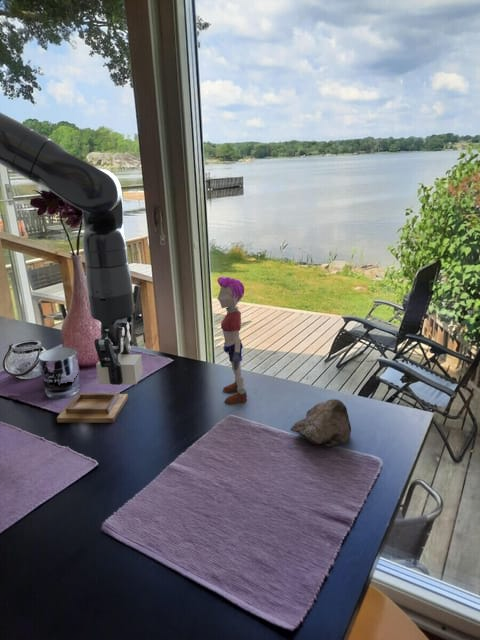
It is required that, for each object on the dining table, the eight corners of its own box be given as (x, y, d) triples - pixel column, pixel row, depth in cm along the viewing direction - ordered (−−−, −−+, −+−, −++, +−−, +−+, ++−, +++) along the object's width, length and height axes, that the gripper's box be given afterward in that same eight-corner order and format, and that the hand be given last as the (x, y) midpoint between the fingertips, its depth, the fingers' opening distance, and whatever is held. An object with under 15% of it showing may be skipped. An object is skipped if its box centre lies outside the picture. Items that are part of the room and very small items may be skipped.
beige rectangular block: (98, 383, 81) (95, 364, 79) (107, 372, 85) (105, 353, 84) (136, 384, 80) (133, 364, 79) (143, 373, 84) (141, 354, 83)
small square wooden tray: (57, 422, 100) (55, 413, 99) (77, 397, 110) (75, 389, 109) (113, 422, 99) (112, 413, 98) (128, 398, 109) (127, 389, 108)
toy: (220, 381, 116) (214, 269, 106) (244, 379, 117) (240, 268, 106) (224, 413, 101) (218, 286, 91) (252, 410, 102) (248, 284, 92)
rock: (288, 436, 97) (275, 401, 93) (332, 412, 99) (322, 376, 95) (317, 472, 85) (304, 433, 81) (366, 444, 88) (356, 405, 84)
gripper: (104, 279, 84) (114, 361, 89) (71, 301, 70) (86, 396, 76) (142, 279, 83) (150, 361, 89) (117, 301, 70) (128, 396, 75)
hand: (121, 377), depth 82 cm, fingers closed on beige rectangular block, 4 cm apart
